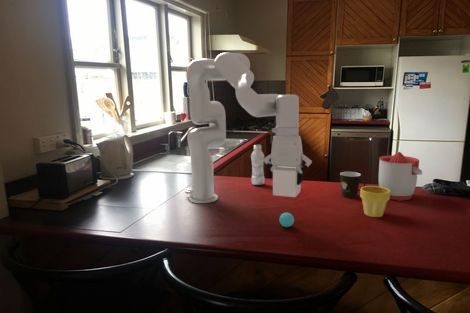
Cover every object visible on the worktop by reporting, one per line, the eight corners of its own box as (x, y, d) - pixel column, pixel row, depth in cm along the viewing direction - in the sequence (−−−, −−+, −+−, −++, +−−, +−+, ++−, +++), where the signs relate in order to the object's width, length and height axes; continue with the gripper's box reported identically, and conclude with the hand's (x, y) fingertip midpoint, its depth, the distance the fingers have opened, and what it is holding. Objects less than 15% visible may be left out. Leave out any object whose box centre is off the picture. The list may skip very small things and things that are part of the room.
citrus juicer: (410, 206, 143) (414, 157, 140) (370, 197, 156) (372, 151, 152) (426, 197, 153) (430, 152, 150) (387, 189, 166) (389, 147, 162)
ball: (280, 209, 126) (281, 219, 129) (277, 218, 122) (278, 229, 125) (294, 210, 125) (295, 220, 127) (292, 220, 121) (293, 230, 123)
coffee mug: (336, 193, 162) (337, 172, 160) (354, 192, 163) (355, 171, 161) (346, 201, 151) (347, 178, 149) (366, 200, 151) (367, 177, 149)
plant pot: (387, 210, 139) (389, 186, 137) (389, 220, 129) (391, 194, 127) (359, 208, 142) (360, 184, 140) (359, 217, 133) (360, 192, 131)
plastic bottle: (263, 186, 175) (263, 146, 172) (250, 186, 177) (249, 146, 173) (265, 183, 182) (265, 144, 178) (252, 182, 183) (251, 144, 179)
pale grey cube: (272, 195, 122) (272, 169, 120) (279, 188, 129) (279, 165, 127) (295, 197, 119) (295, 171, 117) (300, 190, 126) (300, 166, 124)
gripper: (258, 132, 120) (259, 183, 123) (311, 134, 113) (310, 188, 116) (265, 130, 126) (266, 178, 130) (315, 131, 120) (314, 182, 123)
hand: (286, 182), depth 123 cm, fingers closed on pale grey cube, 7 cm apart
